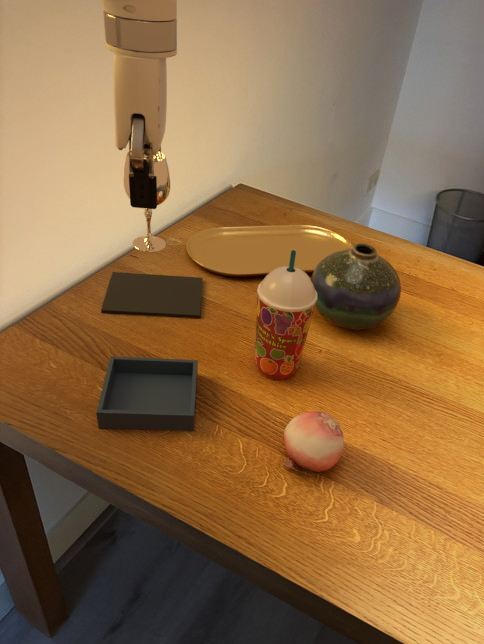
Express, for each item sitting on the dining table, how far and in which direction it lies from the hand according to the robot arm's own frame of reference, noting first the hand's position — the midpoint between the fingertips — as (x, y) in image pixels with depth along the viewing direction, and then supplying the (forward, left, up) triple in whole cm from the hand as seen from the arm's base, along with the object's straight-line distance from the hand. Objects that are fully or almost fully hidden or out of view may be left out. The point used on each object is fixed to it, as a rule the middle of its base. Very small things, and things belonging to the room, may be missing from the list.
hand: (147, 195), depth 70 cm
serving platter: (+21, +30, -24) cm, 44 cm away
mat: (-1, +13, -24) cm, 27 cm away
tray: (+1, -13, -24) cm, 27 cm away
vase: (+33, +10, -24) cm, 42 cm away
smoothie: (+19, -5, -24) cm, 31 cm away
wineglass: (0, 0, -7) cm, 7 cm away
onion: (+22, -23, -24) cm, 40 cm away
